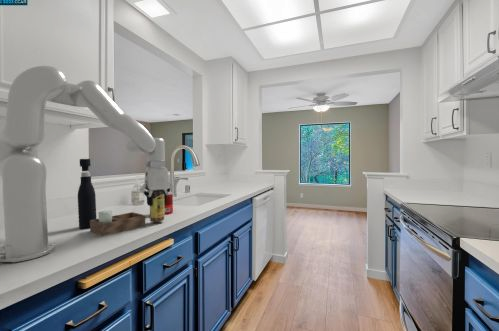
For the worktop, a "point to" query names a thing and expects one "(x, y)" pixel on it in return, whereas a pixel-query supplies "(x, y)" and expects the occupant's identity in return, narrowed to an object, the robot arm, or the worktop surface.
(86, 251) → the worktop surface
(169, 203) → the canned food
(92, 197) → the black water bottle
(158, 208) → the sauce bottle
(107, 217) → the pale green rounded block
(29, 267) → the worktop surface
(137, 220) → the walnut caddy
